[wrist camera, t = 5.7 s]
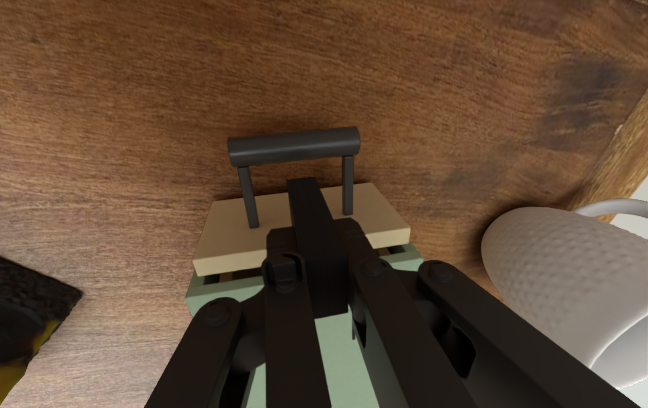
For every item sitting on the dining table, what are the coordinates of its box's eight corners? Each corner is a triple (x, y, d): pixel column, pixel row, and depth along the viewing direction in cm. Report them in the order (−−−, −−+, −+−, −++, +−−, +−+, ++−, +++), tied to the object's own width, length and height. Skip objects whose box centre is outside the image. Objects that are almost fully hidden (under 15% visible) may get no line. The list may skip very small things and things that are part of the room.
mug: (582, 140, 25) (839, 207, 14) (594, 215, 31) (787, 307, 19) (445, 233, 28) (572, 355, 16) (479, 288, 33) (591, 409, 22)
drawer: (191, 124, 18) (155, 158, 12) (375, 109, 19) (424, 133, 14) (248, 335, 28) (244, 410, 22) (365, 312, 30) (390, 376, 24)
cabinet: (211, 215, 22) (184, 298, 14) (374, 194, 24) (424, 257, 16) (247, 345, 30) (242, 442, 22) (367, 321, 32) (398, 402, 24)
